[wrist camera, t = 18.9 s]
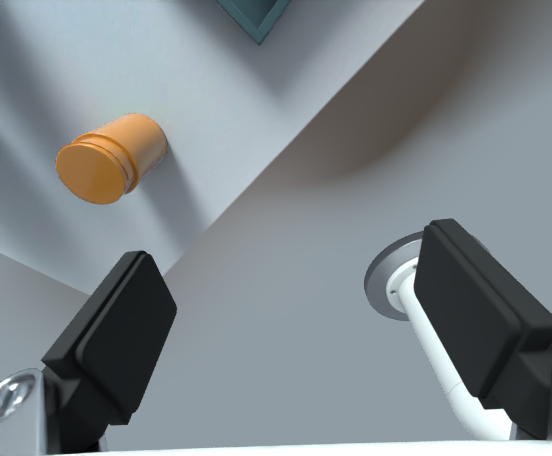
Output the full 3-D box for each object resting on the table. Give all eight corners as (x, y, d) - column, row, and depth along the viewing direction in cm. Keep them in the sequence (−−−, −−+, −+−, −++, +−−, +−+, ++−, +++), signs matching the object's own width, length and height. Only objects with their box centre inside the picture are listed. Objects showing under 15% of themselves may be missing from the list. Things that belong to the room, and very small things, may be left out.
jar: (154, 108, 29) (105, 134, 21) (175, 161, 32) (139, 202, 24) (103, 118, 30) (34, 147, 21) (128, 169, 33) (78, 211, 25)
